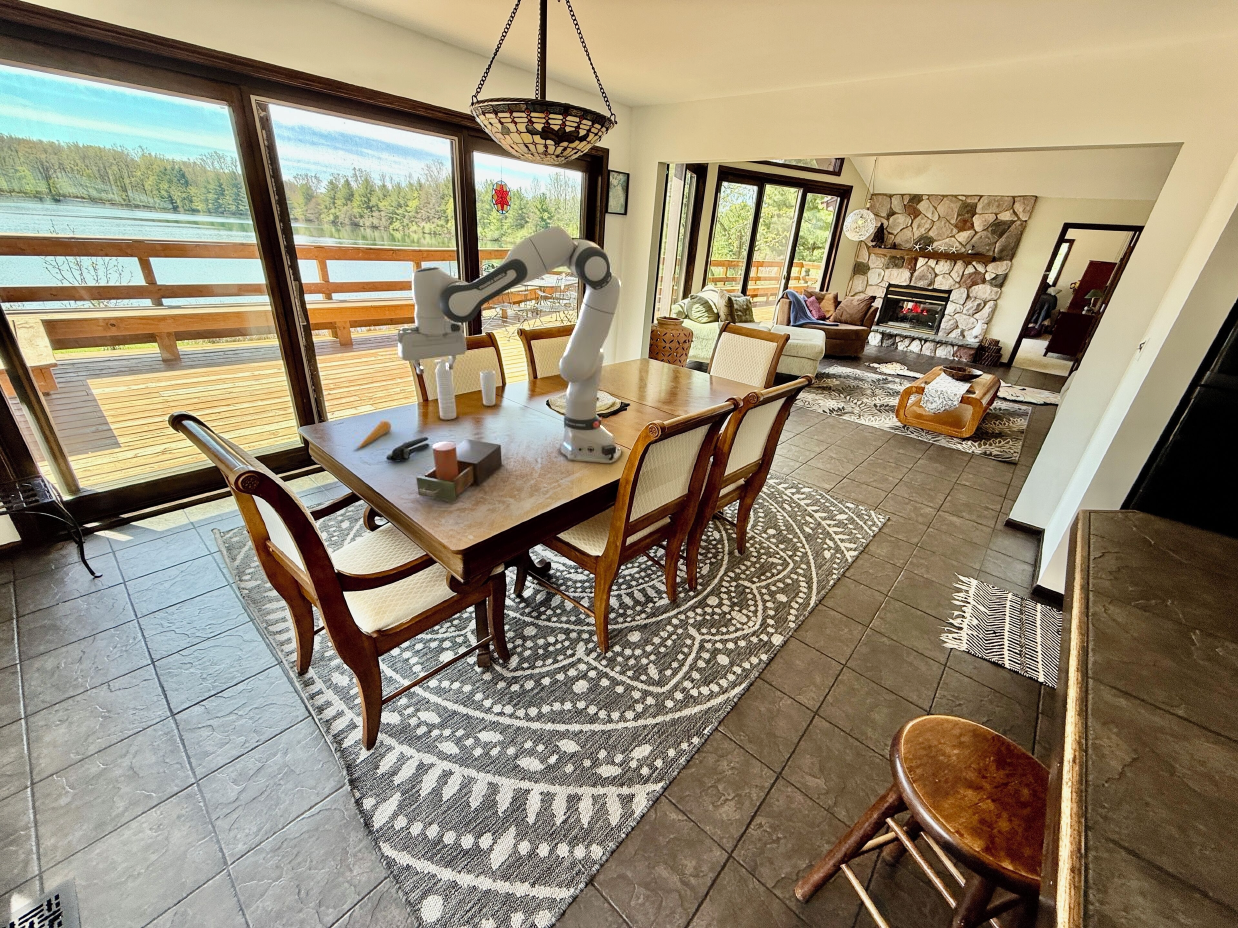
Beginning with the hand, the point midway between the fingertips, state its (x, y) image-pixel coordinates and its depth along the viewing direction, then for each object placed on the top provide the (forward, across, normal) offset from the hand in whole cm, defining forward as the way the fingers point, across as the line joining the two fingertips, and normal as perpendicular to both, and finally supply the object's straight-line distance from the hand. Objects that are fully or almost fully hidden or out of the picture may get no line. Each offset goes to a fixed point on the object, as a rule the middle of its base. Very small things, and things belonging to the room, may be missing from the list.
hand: (435, 371), depth 148 cm
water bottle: (+33, +22, +40) cm, 56 cm away
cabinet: (+32, +5, -11) cm, 34 cm away
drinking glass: (+33, +45, +45) cm, 72 cm away
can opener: (+33, -5, +14) cm, 36 cm away
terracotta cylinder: (+30, -7, -18) cm, 35 cm away
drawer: (+31, -9, -19) cm, 37 cm away
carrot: (+33, -10, +35) cm, 49 cm away
